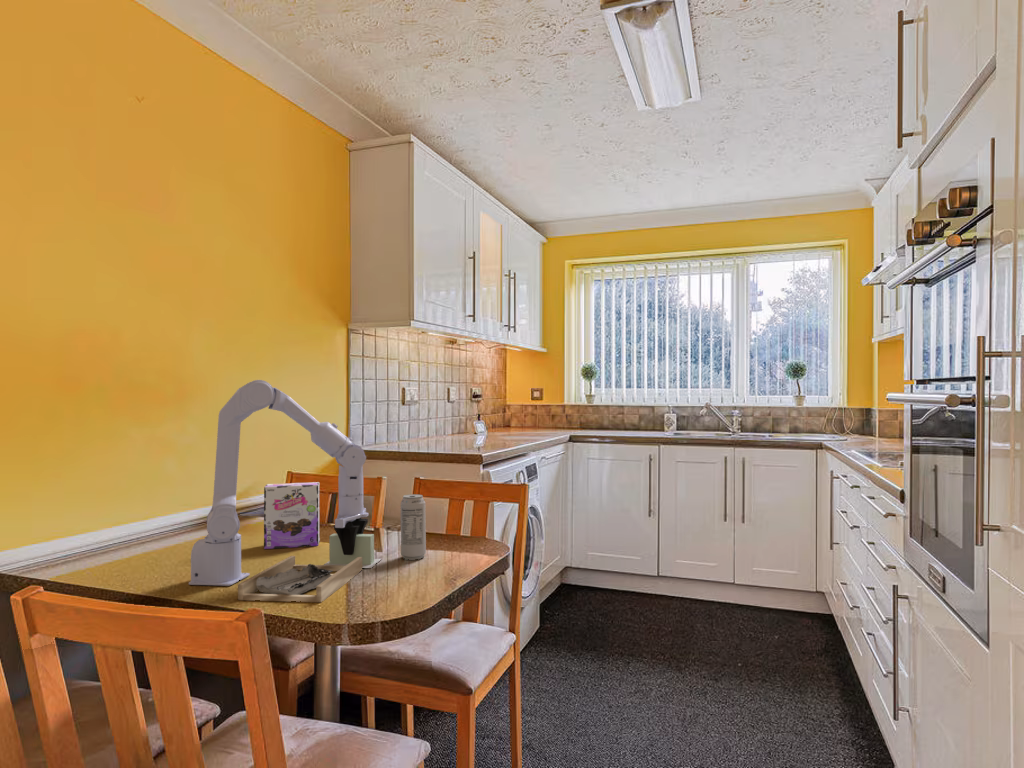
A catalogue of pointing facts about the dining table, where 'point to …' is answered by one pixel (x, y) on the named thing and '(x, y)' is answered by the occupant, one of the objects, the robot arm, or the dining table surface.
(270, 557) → the dining table surface
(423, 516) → the energy drink can
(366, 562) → the pale green block
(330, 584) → the birch rack
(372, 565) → the light gray panel
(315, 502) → the candy box
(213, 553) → the robot arm
